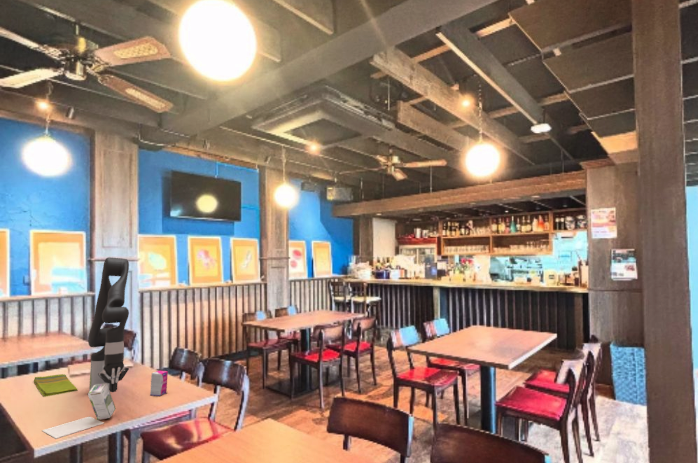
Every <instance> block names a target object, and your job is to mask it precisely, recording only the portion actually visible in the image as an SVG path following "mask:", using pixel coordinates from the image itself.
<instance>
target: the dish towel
mask: <svg viewBox="0 0 698 463" xmlns="http://www.w3.org/2000/svg"><path fill="white" fill-rule="evenodd" d="M33 379H34V380H33V383H34V385H35V387H36V388H37V390H38V391H39V393H40V395H42V397H44V398H46V397H50V396H57V395H61V394H68V393H73V392H77V391H78V390H79V389H78V388H77V387H76V386H75V385H74V384H73V383H72V381H71V380H70V379H69V378H68V377H67V374H65V373H62V374H59V373H58V374H53V375H47V376H34V378H33Z"/></svg>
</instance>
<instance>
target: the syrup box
mask: <svg viewBox="0 0 698 463" xmlns="http://www.w3.org/2000/svg"><path fill="white" fill-rule="evenodd" d="M88 391H89V390H88ZM87 396H88V399H89V402H90V404H91V408H92V409H93V412H94V415H95V419H97V420H99V421H100V420H105V419H110V418H111V417H112V416H113V414H114V412H115V411H116V409H117V408H116V406H115V402H114V400H113V396H112V394H111V392H110V391H109V388H108V385H107V383H103V384H96V385H94V386H93V387H92V388H91V390H90V391H89V392H88V393H87Z"/></svg>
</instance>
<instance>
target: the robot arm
mask: <svg viewBox="0 0 698 463" xmlns="http://www.w3.org/2000/svg"><path fill="white" fill-rule="evenodd" d="M129 263H130V262H129V260H128V259H127V258H119V257H110V256H109V257H106V258H105V260H104V263H103V267H102V272H101V274H102V275H101V281H100V286H99V291H98V295H97V299H96V303H95V304H96V305H95V310H94V316H93V320H92V322H91V327H90V331H89V334H88V341H87V342H88V346H89V347H90V348H100V347H101V349H100V350H98V351H96V352H94V353H92V354H91V355H90V356H91V357H90V368H89V370H90V372H89V390H88V391H90V390H91V388H92V387H93V386H94V385H96V384H103V383H107V385H108V388H109V391H110V393H115V392H117V391H118V383H119V382H120V381H122V380H123V378H124V377H125V376H126V375H127V373H128V371H129V367H126V366H125V364H124V360H125V359H124V358H125V344H124V339H125V338H124V337H125V329H126V328H125V327H126V325H127V322H128V318H129V314H130V311H129V308H127V307H126V306H124V305H125V300H126V299H125V298H126V297H125V294H126V287H127V281H128V276H129V275H128V274H129V269H130V264H129ZM110 277H119V278H118V280H117V281H116V282H115V283H114V284H112V282H111V280H110ZM105 323H106V324H117V323H118V325H117V326H116V327H112V328H111V327H105V328H102V326H103V325H104V324H105Z"/></svg>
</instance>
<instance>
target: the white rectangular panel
mask: <svg viewBox="0 0 698 463" xmlns="http://www.w3.org/2000/svg"><path fill="white" fill-rule="evenodd" d="M104 424H105V422H103V421H100V420H97V418H94V417H92V416H86V417H82V418H79V419H76V420H73V421H69V422H65V423H62V424H59V425H55V426H53V427H49V428H45V429H42V430H41V432H43V433H44V434H46V435H48V436H50V437H52V438H53V439H55V440H56V439H57V440H58V439H61V438H63V437H66V436H69V435H72V434H75V433H79V432H82V431H85V430H88V429H92V428H95V427H99V426H101V425H104ZM91 427H92V428H91Z"/></svg>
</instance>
